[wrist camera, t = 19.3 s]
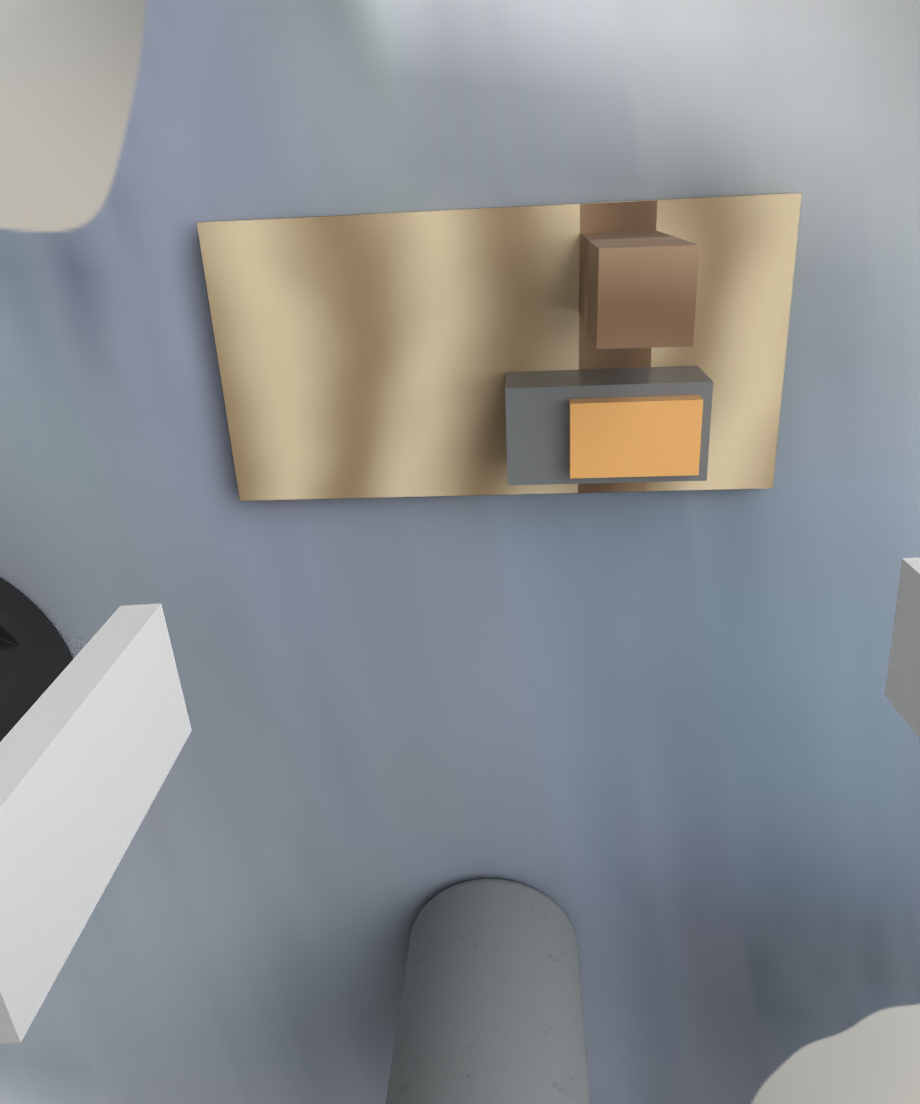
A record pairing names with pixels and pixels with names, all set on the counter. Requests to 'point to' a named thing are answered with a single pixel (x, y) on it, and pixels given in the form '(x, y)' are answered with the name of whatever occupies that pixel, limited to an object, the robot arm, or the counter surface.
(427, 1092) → the water bottle
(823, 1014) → the counter surface
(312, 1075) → the counter surface
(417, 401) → the plywood panel
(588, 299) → the peg
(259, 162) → the counter surface
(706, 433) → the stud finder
